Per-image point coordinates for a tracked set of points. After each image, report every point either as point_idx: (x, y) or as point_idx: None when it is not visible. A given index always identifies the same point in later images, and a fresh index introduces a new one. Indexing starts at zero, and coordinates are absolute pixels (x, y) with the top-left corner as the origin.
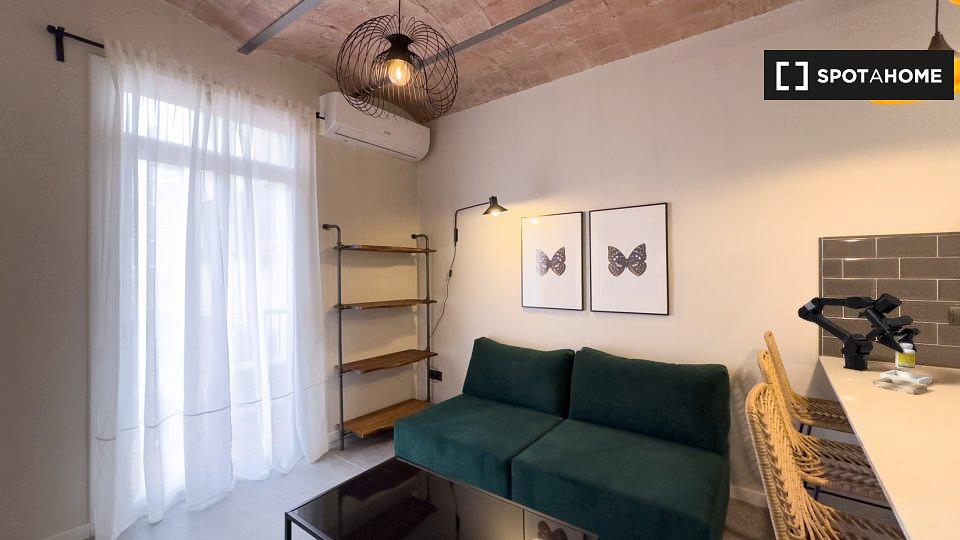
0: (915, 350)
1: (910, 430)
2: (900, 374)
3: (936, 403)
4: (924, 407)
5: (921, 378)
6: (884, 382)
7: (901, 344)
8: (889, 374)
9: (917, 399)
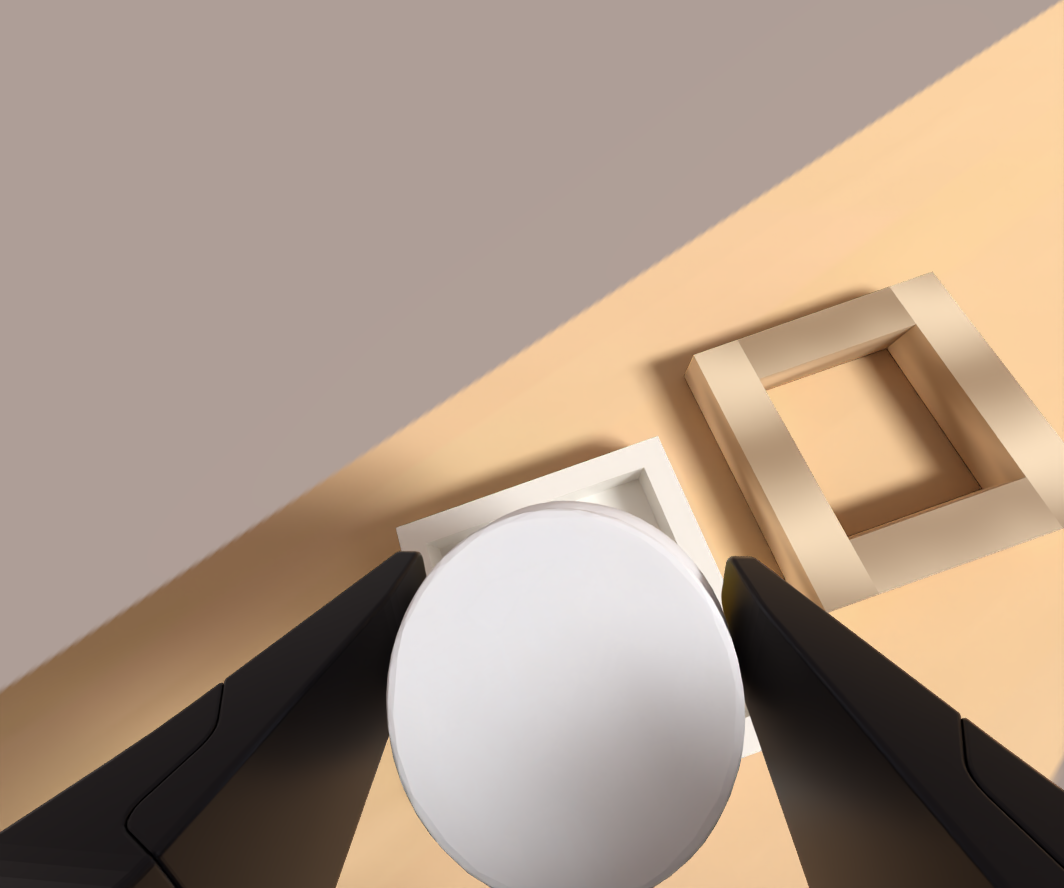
0: (412, 566)
1: None
2: None
3: (920, 157)
4: None
5: (572, 481)
6: (1025, 452)
7: (735, 666)
8: None
9: (974, 219)
